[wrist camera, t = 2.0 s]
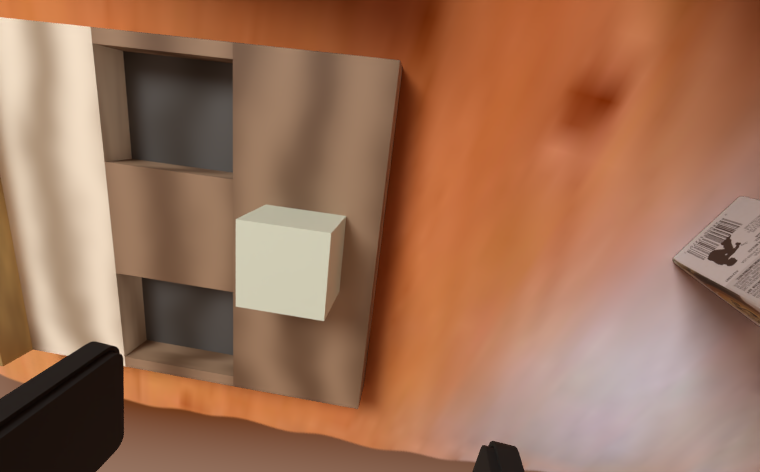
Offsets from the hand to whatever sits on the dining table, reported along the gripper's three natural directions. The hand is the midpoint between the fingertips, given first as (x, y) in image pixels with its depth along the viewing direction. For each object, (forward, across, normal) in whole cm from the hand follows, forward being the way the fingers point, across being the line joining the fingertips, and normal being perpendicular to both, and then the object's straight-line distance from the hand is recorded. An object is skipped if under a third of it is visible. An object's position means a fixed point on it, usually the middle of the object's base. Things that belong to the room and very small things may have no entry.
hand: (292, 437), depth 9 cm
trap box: (+21, +16, +3) cm, 27 cm away
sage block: (+18, +5, +2) cm, 19 cm away
